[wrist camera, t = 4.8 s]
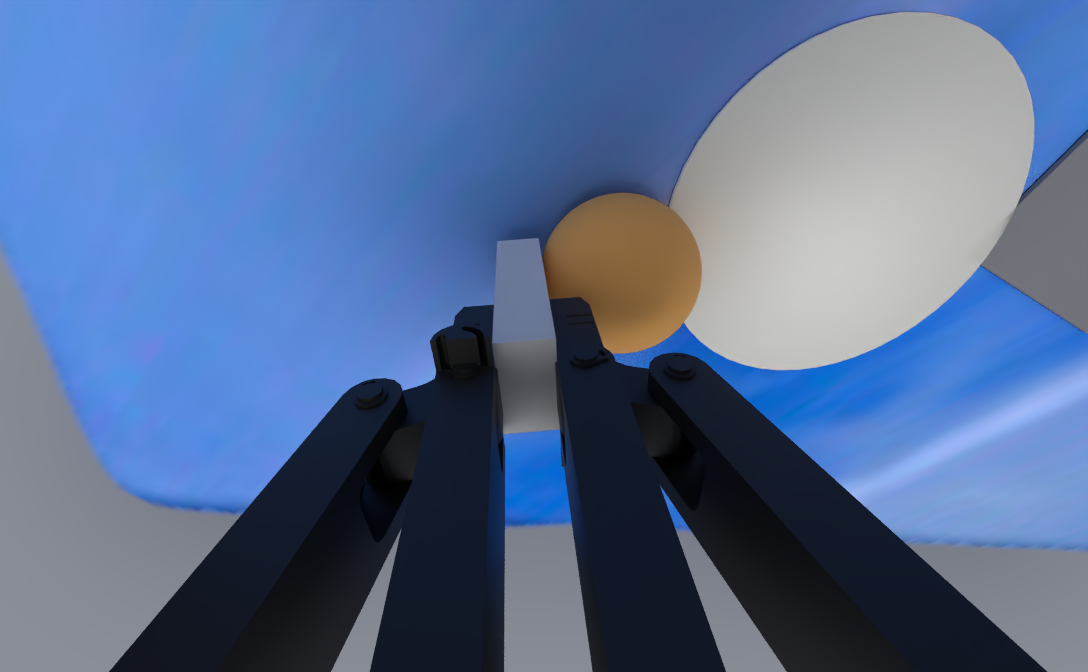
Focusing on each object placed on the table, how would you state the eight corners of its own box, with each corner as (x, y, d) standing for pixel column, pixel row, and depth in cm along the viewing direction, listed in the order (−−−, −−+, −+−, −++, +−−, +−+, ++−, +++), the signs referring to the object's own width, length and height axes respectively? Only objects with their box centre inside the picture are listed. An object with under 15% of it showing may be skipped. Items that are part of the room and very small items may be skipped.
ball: (571, 148, 16) (720, 164, 13) (616, 248, 20) (738, 279, 17) (481, 270, 15) (622, 321, 12) (549, 349, 19) (667, 403, 16)
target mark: (1017, -101, 13) (1023, -103, 13) (1037, 267, 20) (1042, 269, 20) (599, 175, 17) (600, 176, 17) (733, 411, 23) (735, 414, 23)
